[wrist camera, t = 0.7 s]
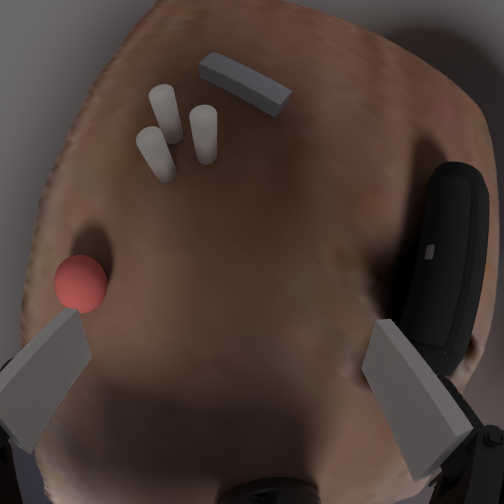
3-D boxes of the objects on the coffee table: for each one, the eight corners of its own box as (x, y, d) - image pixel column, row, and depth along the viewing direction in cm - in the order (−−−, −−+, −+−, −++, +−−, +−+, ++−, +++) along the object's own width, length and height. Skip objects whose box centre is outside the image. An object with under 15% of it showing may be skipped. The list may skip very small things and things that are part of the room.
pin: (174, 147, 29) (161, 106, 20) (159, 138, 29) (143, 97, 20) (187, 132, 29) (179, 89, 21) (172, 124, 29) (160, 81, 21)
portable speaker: (414, 172, 33) (460, 147, 23) (456, 201, 34) (500, 186, 24) (373, 351, 30) (423, 373, 20) (422, 362, 30) (470, 379, 21)
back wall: (275, 118, 31) (279, 105, 28) (199, 77, 30) (198, 63, 27) (287, 104, 31) (292, 91, 28) (212, 65, 30) (213, 51, 27)
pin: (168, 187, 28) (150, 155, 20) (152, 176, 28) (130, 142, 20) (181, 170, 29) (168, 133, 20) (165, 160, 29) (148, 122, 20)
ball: (99, 320, 26) (74, 329, 20) (64, 288, 26) (36, 290, 20) (124, 277, 27) (102, 277, 21) (87, 246, 27) (61, 239, 21)
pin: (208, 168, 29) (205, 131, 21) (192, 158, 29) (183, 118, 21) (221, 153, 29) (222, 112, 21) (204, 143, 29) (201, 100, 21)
